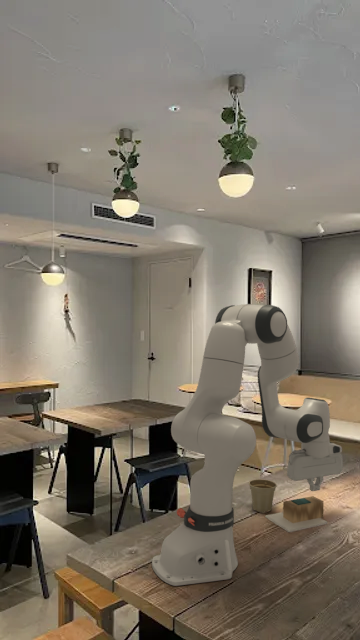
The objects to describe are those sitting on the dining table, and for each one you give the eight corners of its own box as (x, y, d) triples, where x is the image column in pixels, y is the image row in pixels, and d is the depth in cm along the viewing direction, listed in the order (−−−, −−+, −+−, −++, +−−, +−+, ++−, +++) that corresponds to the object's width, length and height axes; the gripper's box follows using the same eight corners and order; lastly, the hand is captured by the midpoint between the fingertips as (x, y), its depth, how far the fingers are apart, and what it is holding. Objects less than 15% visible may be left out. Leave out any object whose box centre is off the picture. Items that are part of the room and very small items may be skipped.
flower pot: (268, 502, 169) (268, 477, 169) (281, 512, 160) (282, 486, 160) (243, 505, 166) (243, 480, 166) (256, 516, 157) (256, 489, 157)
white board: (288, 532, 145) (288, 530, 145) (265, 517, 156) (265, 515, 156) (327, 523, 151) (327, 521, 151) (302, 509, 162) (302, 508, 162)
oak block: (323, 516, 155) (293, 523, 150) (313, 511, 160) (283, 517, 155) (323, 500, 155) (293, 506, 150) (313, 495, 160) (283, 500, 155)
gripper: (295, 453, 150) (295, 498, 150) (346, 446, 158) (345, 489, 158) (283, 448, 155) (282, 491, 155) (332, 442, 164) (331, 483, 164)
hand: (314, 490), depth 157 cm, fingers closed
